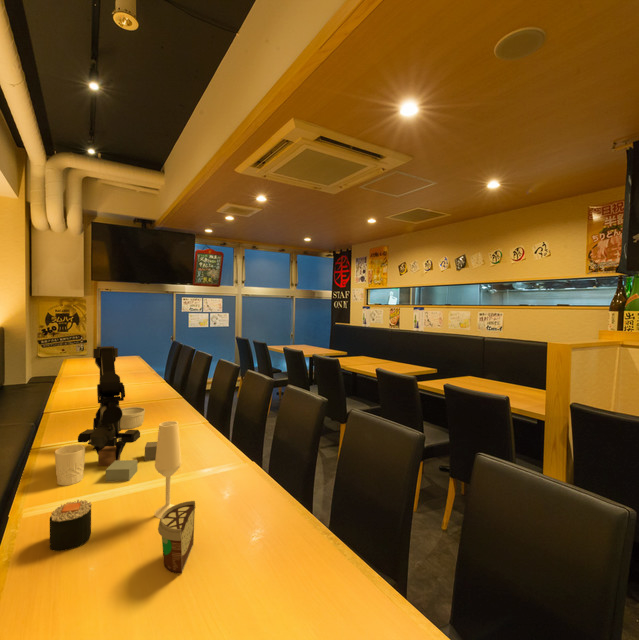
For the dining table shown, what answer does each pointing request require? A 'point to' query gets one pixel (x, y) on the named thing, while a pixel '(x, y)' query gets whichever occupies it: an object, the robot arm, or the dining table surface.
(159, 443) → the champagne flute
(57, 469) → the white cup
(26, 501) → the dining table surface
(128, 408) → the ramekin
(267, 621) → the dining table surface
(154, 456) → the brown block
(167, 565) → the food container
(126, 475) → the base block
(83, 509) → the sushi
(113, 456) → the walnut block
